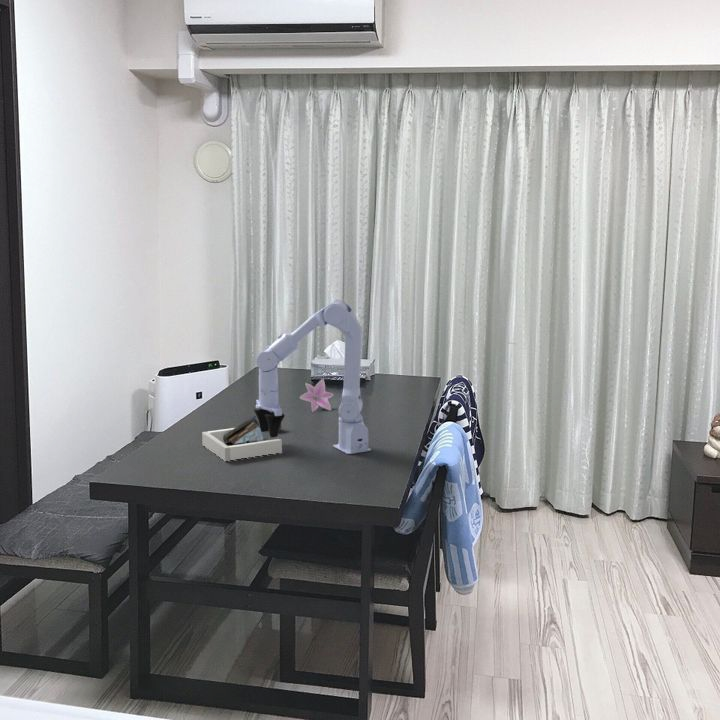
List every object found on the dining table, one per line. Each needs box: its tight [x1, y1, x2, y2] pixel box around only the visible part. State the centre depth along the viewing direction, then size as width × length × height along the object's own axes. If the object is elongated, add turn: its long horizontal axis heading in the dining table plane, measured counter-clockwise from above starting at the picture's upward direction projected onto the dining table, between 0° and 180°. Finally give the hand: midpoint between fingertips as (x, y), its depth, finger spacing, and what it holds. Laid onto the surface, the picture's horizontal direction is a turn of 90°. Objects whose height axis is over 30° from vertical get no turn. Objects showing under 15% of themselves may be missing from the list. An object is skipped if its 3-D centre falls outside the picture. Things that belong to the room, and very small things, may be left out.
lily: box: [299, 378, 335, 413], centre depth 300 cm, size 12×12×10 cm
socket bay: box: [201, 427, 283, 462], centre depth 251 cm, size 19×18×4 cm
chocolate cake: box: [223, 415, 264, 445], centre depth 256 cm, size 10×7×12 cm
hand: (269, 434), depth 255 cm, fingers open, 6 cm apart
